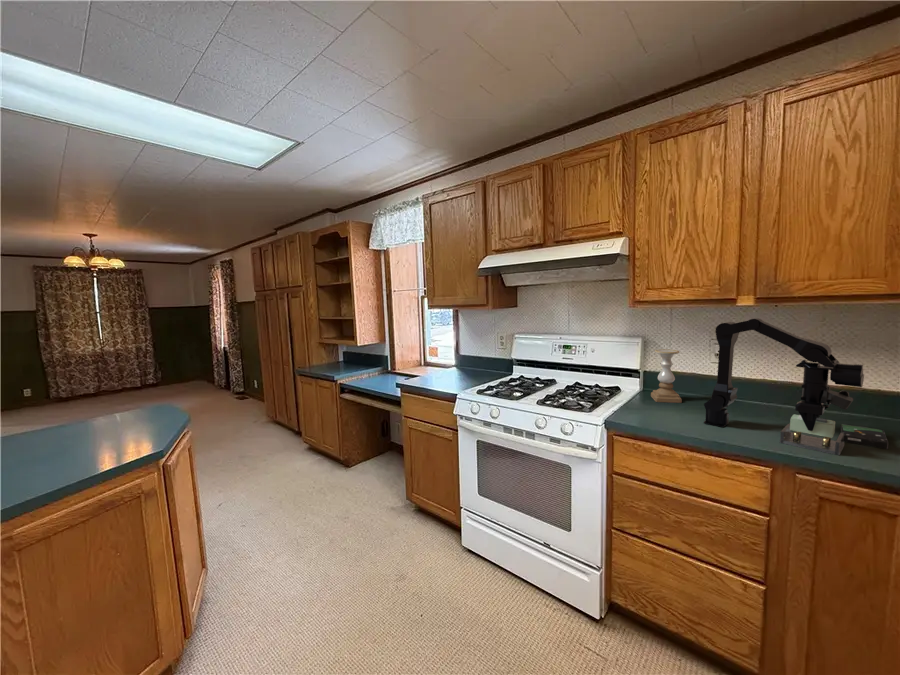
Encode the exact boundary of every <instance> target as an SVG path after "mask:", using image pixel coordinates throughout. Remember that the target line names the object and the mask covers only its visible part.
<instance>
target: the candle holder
mask: <svg viewBox="0 0 900 675" xmlns="http://www.w3.org/2000/svg"><path fill="white" fill-rule="evenodd" d="M654 353H655V354H659V355H660V357H661V362H660V365H661V367H662V368H661V371H660V372H659V373H658V375H657V380H658V381H659V384H658V387H659V388H658V389H653V390H652V392H650V397H651V399H653V400H654V401H655V403H656V402H657V403H674V404H677V403H678V404H681V403H682V400H683V399H682V397H680V395H679V394H678V392H676V390H674V384H673V382H675V380H676V377H675V375H674V373H673V372H672V370H671V368H672V367H673V365H674V364H673V362H672V358H673V357H674V355H678V354H680V350H678V349H665V348H661V349H655V350H654Z"/></svg>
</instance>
